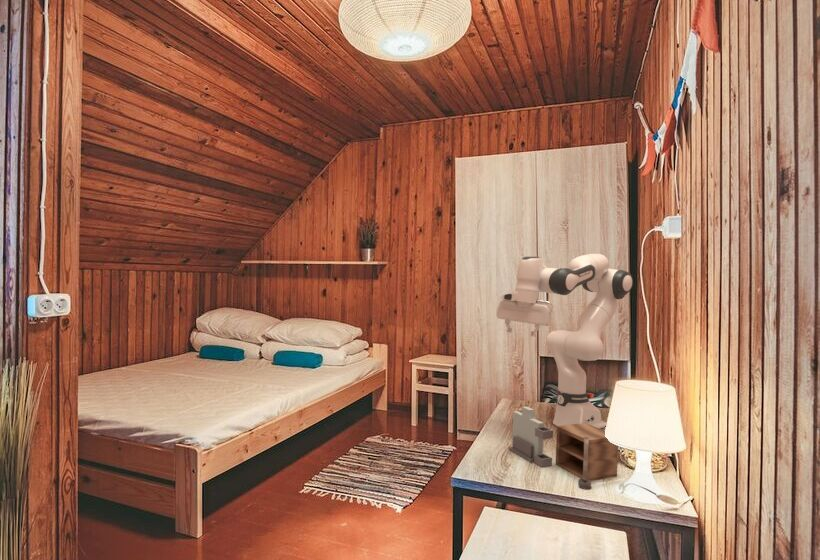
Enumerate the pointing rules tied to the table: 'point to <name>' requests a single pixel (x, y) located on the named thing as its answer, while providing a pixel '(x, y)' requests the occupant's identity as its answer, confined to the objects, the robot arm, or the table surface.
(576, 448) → the cabinet
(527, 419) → the door
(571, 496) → the table surface
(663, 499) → the table surface
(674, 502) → the table surface
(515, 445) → the door stand
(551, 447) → the table surface
